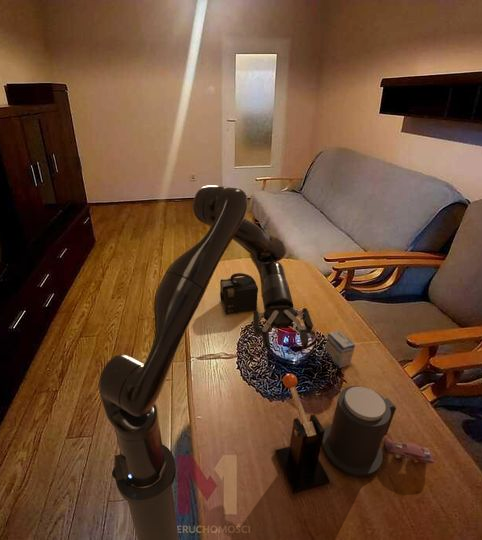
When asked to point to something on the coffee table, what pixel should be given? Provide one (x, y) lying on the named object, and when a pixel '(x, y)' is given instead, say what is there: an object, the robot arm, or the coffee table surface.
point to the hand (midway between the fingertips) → (286, 347)
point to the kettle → (358, 432)
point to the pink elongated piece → (409, 451)
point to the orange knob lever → (299, 404)
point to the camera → (238, 294)
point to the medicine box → (339, 349)
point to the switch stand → (303, 458)
